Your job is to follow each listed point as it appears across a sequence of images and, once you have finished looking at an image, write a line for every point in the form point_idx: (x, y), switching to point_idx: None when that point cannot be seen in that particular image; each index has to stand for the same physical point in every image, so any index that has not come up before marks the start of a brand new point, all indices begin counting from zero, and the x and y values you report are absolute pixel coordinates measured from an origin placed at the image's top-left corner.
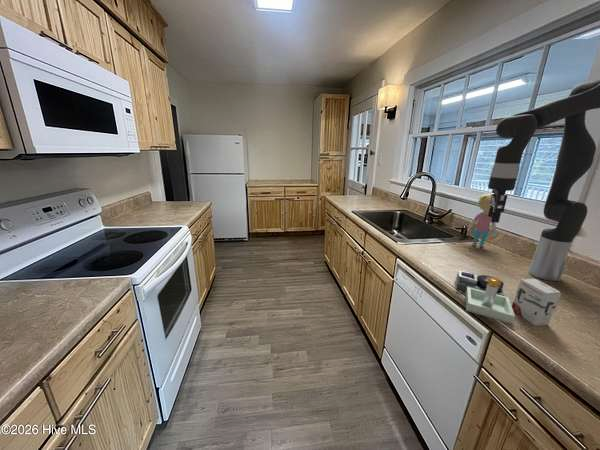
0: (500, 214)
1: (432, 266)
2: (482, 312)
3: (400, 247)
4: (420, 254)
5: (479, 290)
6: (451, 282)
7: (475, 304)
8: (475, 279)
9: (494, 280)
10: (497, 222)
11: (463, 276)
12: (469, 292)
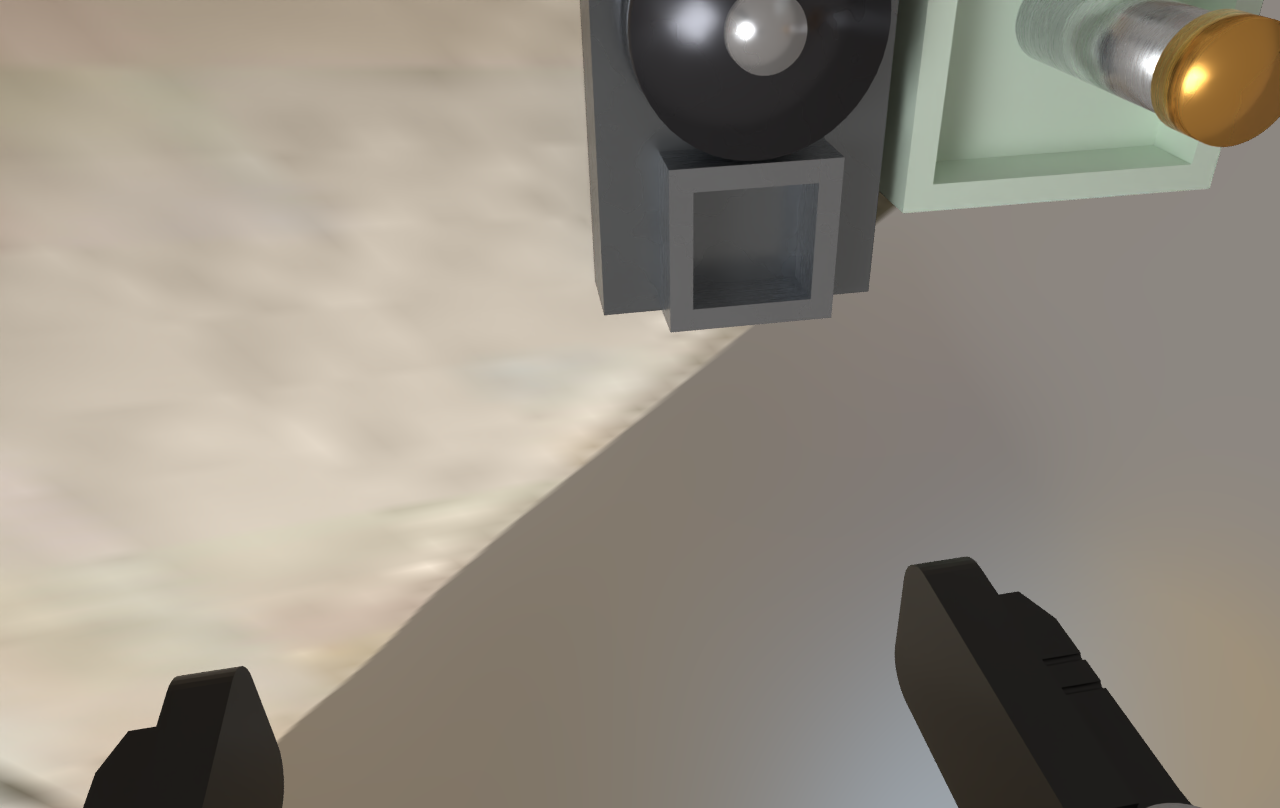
0: (1105, 757)
1: (441, 493)
2: None
3: None
4: (200, 634)
5: (932, 108)
6: None
7: None
8: (824, 174)
9: (1248, 86)
10: (958, 565)
11: (813, 281)
12: (1013, 188)
